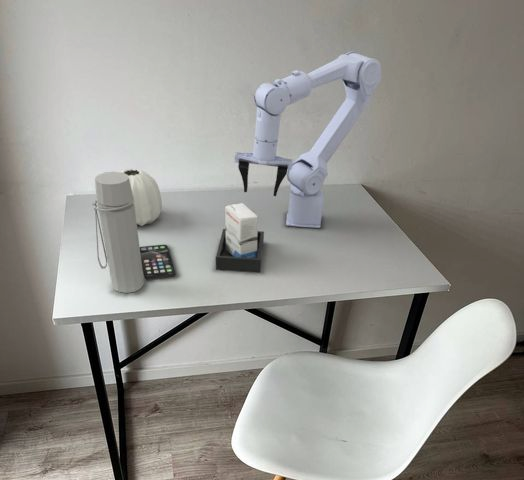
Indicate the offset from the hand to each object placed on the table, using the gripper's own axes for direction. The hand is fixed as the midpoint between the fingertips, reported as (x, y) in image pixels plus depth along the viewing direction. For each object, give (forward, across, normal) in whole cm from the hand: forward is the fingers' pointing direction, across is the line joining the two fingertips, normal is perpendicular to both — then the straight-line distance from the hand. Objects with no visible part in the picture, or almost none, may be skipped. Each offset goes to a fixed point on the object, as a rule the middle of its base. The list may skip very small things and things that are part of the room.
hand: (260, 192), depth 134 cm
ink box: (+11, -3, -15) cm, 19 cm away
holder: (+11, -3, -15) cm, 19 cm away
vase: (+13, -33, +1) cm, 35 cm away
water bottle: (+14, -28, -32) cm, 44 cm away
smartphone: (+13, -23, -21) cm, 33 cm away
